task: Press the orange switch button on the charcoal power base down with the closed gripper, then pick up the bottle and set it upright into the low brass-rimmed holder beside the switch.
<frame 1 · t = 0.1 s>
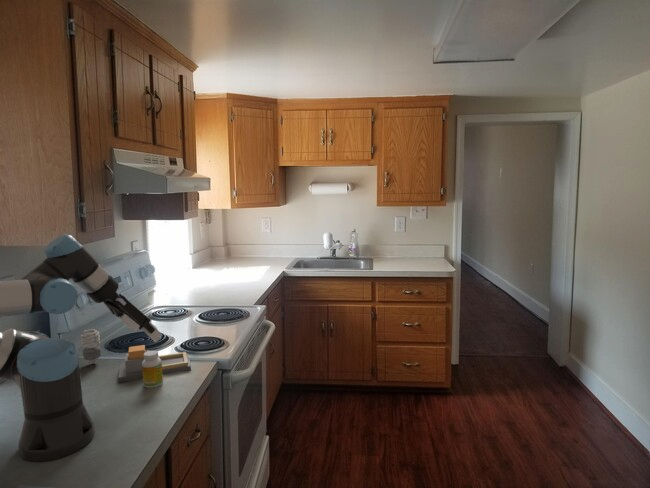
hand: (147, 333, 133), 15 cm above the counter, tool tilted 35°, fingers open, 13 cm apart
switch button: (137, 353, 143), point 6 cm above the counter, slide at 0.0 cm
light bulb: (93, 364, 150), on the counter
power base: (155, 369, 145), on the counter
supplement bottle: (153, 384, 135), on the counter
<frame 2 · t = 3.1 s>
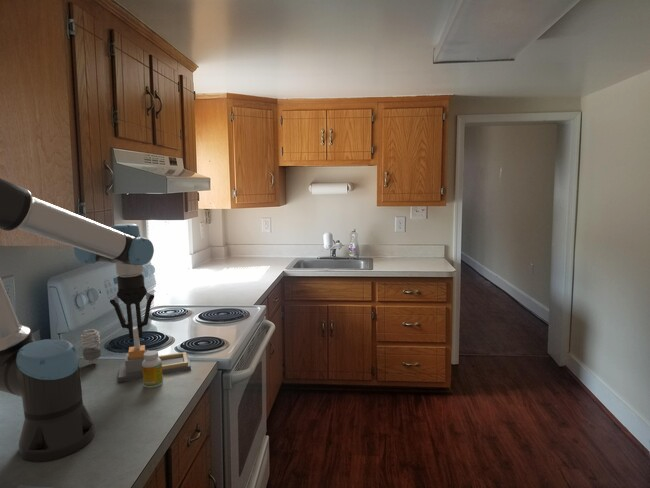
hand: (137, 347, 142), 8 cm above the counter, tool pointing down, fingers closed
switch button: (137, 353, 143), point 6 cm above the counter, slide at 0.1 cm, touching gripper
everything else where it was.
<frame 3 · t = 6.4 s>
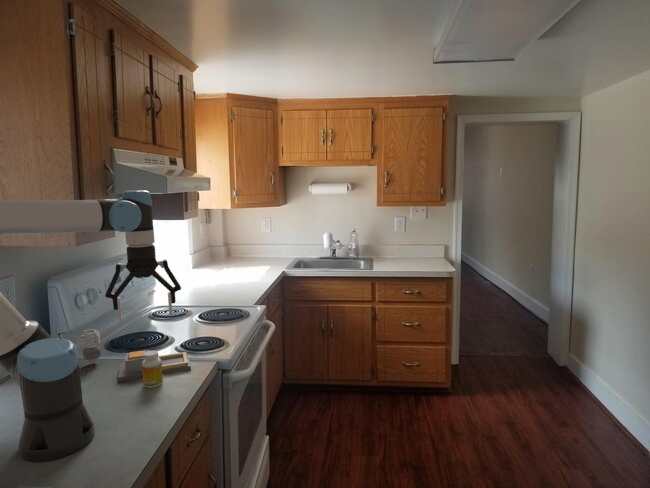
hand: (146, 317, 132), 20 cm above the counter, tool pointing down, fingers open, 13 cm apart
switch button: (137, 359, 143), point 4 cm above the counter, slide at 1.8 cm
everything else where it was.
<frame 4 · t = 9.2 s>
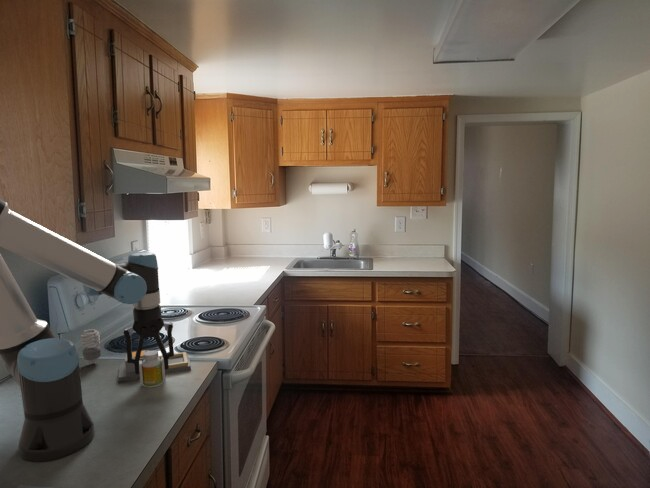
hand: (153, 381, 135), 1 cm above the counter, tool pointing down, fingers closed on supplement bottle, 5 cm apart
supplement bottle: (153, 384, 135), on the counter, touching gripper
everything else where it was.
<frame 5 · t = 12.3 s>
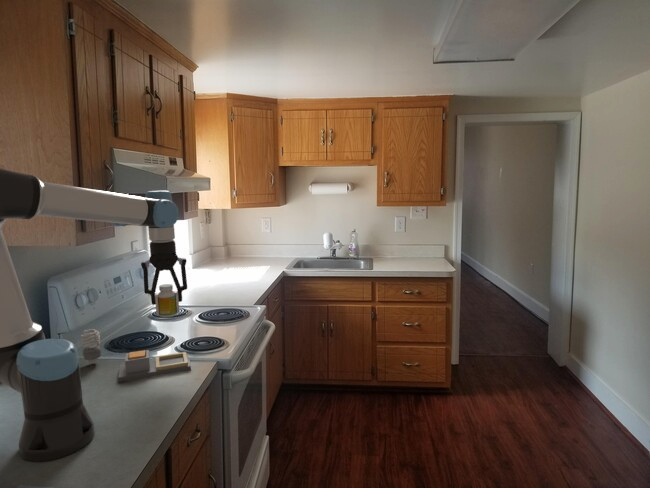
hand: (167, 312, 144), 18 cm above the counter, tool pointing down, fingers closed on supplement bottle, 5 cm apart
supplement bottle: (168, 315, 144), point 17 cm above the counter, touching gripper
everything else where it was.
when the fingers open (3 cm above the counter, at t = 15.2 s): supplement bottle stays where it is, resting on power base.
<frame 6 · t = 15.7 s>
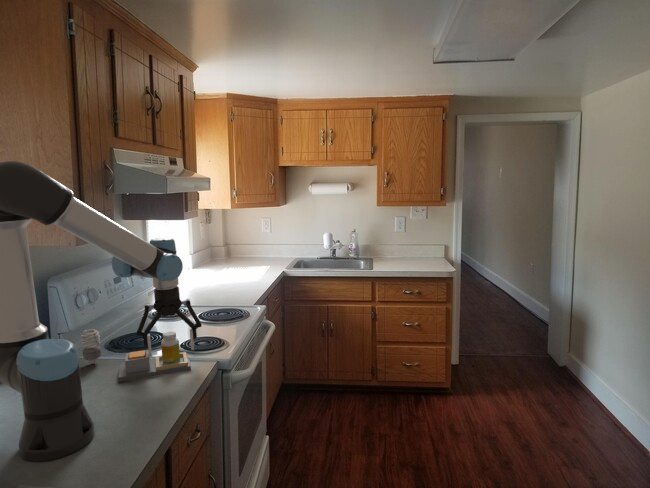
hand: (171, 351, 146), 5 cm above the counter, tool pointing down, fingers open, 12 cm apart
supplement bottle: (171, 362, 147), point 1 cm above the counter, touching power base
everything else where it was.
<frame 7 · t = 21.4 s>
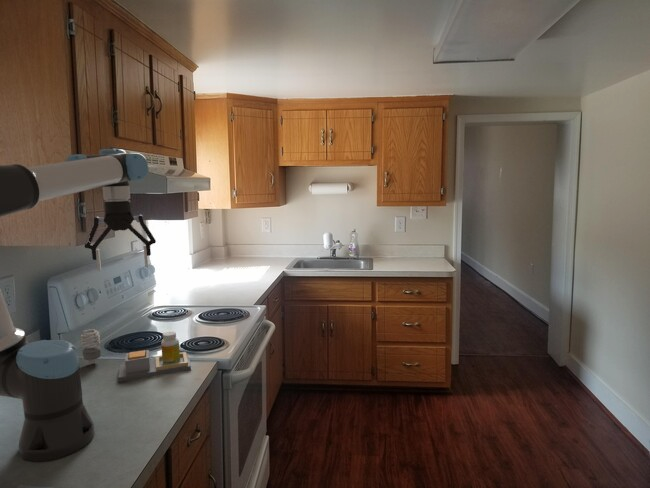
hand: (123, 268, 143), 33 cm above the counter, tool pointing down, fingers open, 13 cm apart
nothing on the counter moved.
at the end: switch button slide at 1.8 cm; supplement bottle 0.1 cm from the target spot on the power base, point 1.3 cm above the power base's base; supplement bottle tilted 0° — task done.
